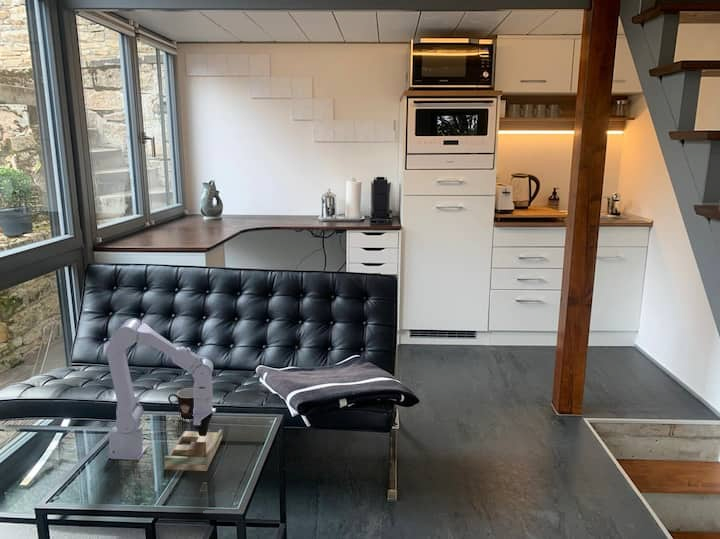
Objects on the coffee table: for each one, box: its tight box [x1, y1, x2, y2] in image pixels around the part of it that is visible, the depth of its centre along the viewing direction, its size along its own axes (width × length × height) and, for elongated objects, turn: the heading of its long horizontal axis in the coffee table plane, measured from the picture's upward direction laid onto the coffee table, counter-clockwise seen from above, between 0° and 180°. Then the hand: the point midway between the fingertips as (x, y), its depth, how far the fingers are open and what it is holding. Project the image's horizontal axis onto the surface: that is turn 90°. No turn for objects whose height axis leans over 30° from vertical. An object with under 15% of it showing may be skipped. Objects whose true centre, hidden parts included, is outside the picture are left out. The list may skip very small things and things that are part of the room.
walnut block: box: [188, 442, 206, 457], centre depth 170 cm, size 4×4×4 cm
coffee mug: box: [167, 387, 194, 420], centre depth 199 cm, size 12×9×10 cm
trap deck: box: [163, 429, 223, 472], centre depth 177 cm, size 13×20×4 cm, turn 0°
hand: (203, 435), depth 177 cm, fingers closed
